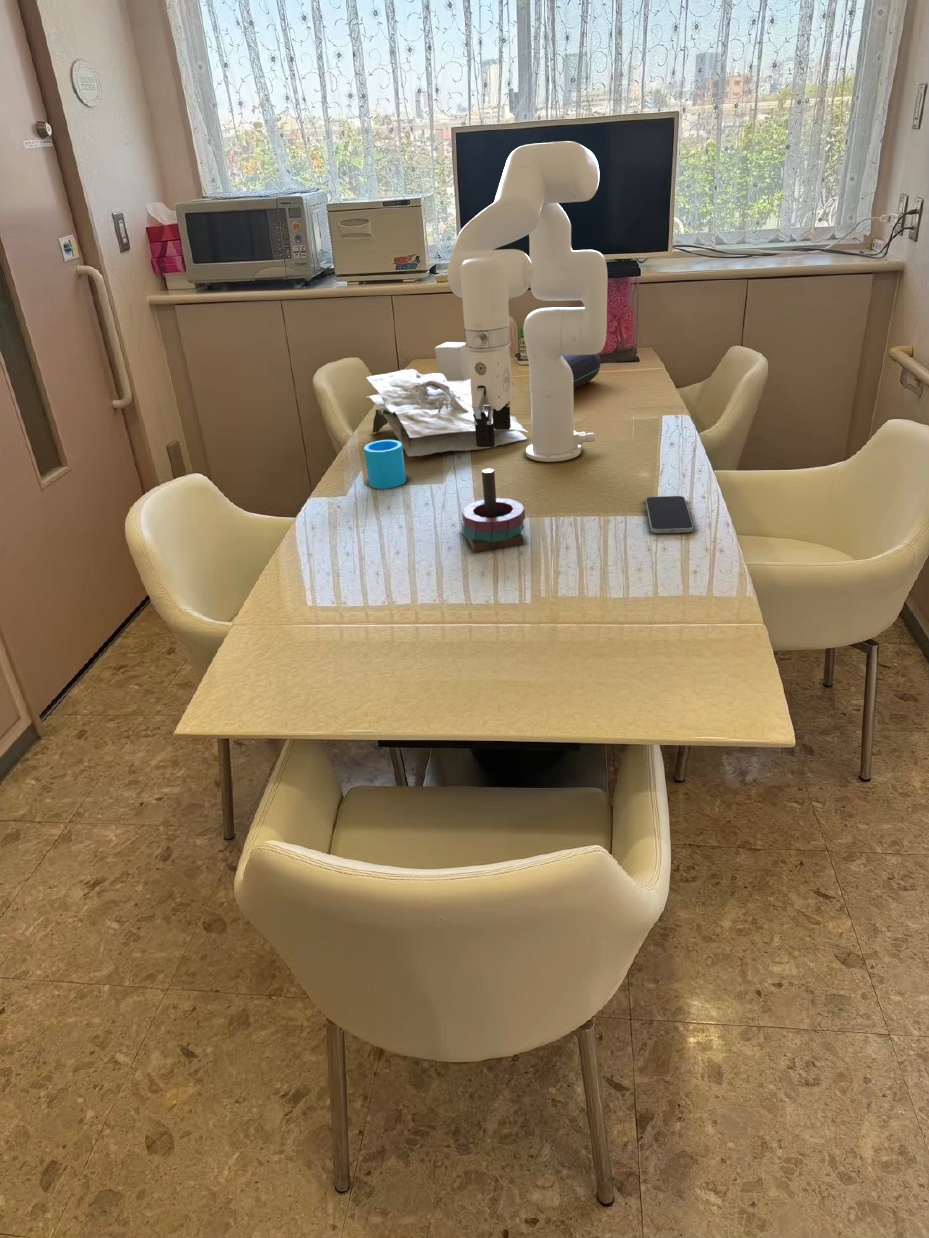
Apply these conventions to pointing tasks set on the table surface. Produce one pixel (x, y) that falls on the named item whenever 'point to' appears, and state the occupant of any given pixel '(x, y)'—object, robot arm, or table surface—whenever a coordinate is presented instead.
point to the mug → (385, 464)
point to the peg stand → (492, 515)
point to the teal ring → (492, 536)
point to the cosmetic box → (453, 361)
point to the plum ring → (497, 523)
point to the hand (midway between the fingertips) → (494, 437)
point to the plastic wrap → (431, 413)
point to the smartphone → (668, 514)
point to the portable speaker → (583, 367)
